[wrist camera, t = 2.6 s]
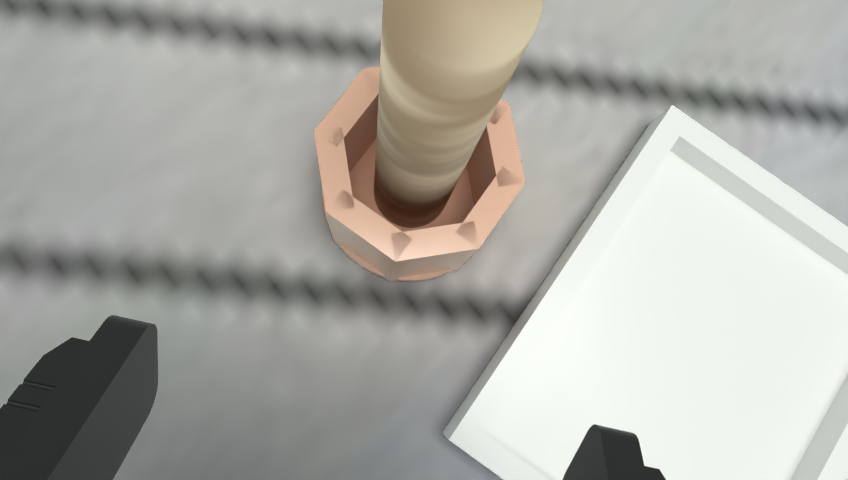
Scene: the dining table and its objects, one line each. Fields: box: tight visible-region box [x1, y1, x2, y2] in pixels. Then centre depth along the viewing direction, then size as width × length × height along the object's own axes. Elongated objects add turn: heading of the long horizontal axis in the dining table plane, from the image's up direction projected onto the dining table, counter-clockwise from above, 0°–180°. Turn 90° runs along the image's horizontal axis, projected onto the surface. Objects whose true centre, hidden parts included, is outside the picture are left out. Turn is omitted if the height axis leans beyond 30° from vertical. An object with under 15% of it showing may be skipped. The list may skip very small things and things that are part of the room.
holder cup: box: [314, 66, 525, 282], centre depth 27 cm, size 8×8×6 cm
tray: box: [442, 105, 848, 480], centre depth 29 cm, size 14×17×2 cm
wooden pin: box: [374, 0, 544, 228], centre depth 21 cm, size 3×3×16 cm
